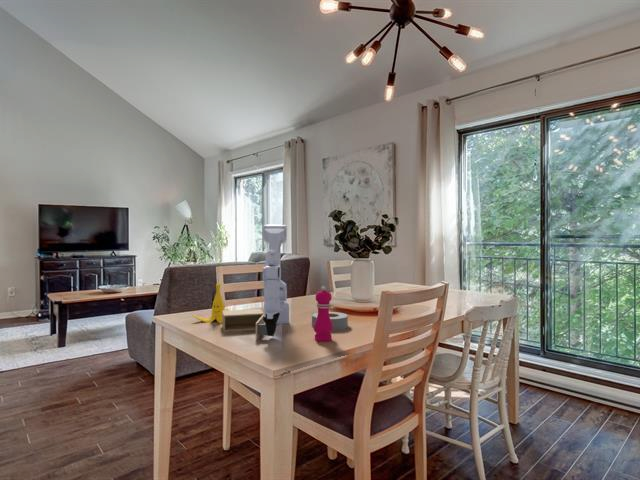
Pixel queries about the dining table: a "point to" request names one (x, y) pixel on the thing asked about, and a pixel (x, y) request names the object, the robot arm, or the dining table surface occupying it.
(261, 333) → the front flap
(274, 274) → the robot arm
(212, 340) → the dining table surface
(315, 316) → the tape roll
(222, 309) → the banana peel
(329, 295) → the pepper mill
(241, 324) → the carton
